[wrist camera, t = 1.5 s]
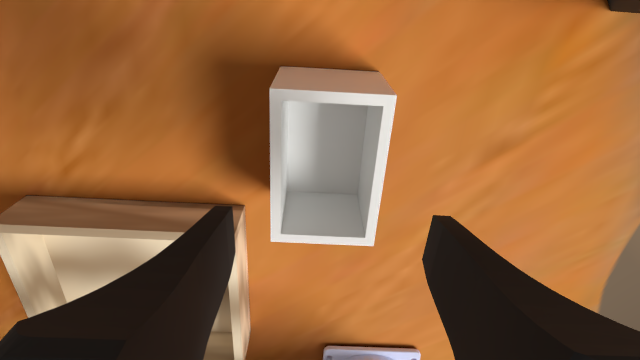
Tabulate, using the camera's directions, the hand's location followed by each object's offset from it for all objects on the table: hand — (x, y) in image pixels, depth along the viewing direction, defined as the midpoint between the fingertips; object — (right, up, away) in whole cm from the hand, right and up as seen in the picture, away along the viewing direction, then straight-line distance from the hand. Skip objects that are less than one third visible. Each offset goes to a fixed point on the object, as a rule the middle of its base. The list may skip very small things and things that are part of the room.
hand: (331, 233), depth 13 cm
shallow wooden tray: (-13, -5, +13) cm, 19 cm away
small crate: (0, +4, +8) cm, 10 cm away
